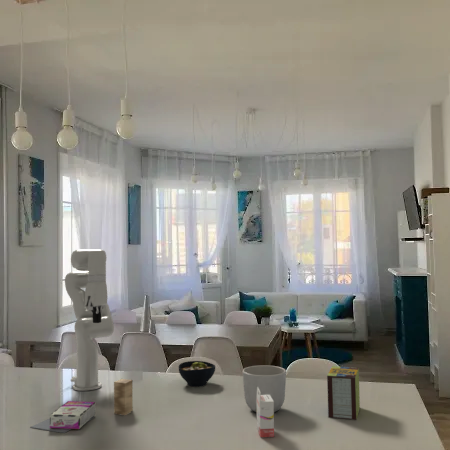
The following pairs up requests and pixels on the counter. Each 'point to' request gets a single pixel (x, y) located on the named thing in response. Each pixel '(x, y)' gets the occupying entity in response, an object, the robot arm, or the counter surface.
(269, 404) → the ink cartridge box
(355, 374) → the protein box
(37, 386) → the counter surface
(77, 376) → the robot arm
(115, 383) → the oak block
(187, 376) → the bowl
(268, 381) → the planter
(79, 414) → the candy bar box
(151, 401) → the counter surface
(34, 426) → the mat
